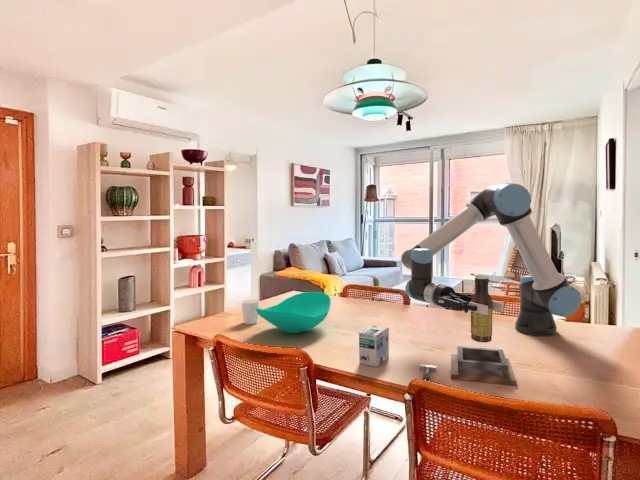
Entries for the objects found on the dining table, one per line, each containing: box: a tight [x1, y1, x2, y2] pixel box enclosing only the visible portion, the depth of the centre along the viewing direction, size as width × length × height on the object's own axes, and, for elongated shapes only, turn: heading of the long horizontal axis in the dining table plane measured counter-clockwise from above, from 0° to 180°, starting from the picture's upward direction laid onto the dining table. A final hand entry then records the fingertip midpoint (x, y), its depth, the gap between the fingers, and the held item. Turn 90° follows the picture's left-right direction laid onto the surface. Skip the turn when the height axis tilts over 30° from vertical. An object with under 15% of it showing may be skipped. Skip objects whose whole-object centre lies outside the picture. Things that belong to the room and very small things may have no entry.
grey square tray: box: [450, 345, 518, 387], centre depth 128 cm, size 18×18×5 cm
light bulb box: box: [358, 324, 390, 368], centre depth 138 cm, size 11×7×11 cm, turn 148°
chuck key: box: [419, 364, 437, 381], centre depth 126 cm, size 9×5×2 cm, turn 162°
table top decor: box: [256, 291, 332, 334], centre depth 174 cm, size 40×28×13 cm
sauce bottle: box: [470, 276, 493, 344], centre depth 127 cm, size 6×6×20 cm
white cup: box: [241, 299, 260, 325], centre depth 189 cm, size 8×8×10 cm
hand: (494, 309), depth 122 cm, fingers closed on sauce bottle, 6 cm apart
